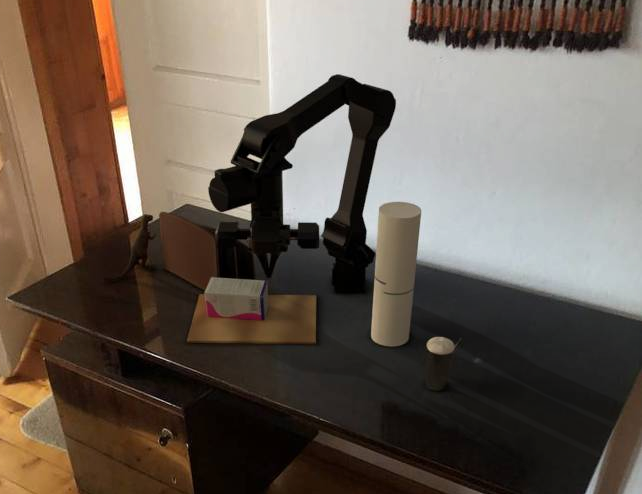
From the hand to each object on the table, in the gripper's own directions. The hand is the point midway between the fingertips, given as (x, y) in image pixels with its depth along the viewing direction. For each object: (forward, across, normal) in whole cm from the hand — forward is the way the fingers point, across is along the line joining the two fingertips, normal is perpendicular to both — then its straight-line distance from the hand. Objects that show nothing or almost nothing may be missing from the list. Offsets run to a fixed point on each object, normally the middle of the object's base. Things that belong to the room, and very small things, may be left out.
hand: (269, 277), depth 138 cm
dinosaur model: (+9, -31, +19) cm, 38 cm away
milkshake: (+9, +30, -22) cm, 38 cm away
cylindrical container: (+9, +23, -6) cm, 25 cm away
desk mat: (+9, -3, 0) cm, 10 cm away
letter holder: (+9, -14, +17) cm, 24 cm away
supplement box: (+6, 0, +1) cm, 6 cm away
